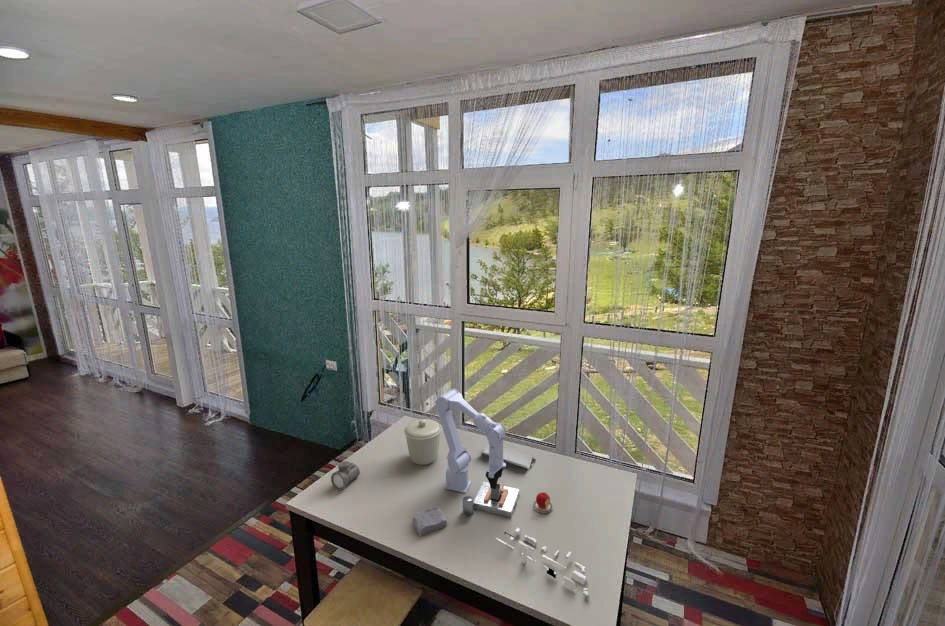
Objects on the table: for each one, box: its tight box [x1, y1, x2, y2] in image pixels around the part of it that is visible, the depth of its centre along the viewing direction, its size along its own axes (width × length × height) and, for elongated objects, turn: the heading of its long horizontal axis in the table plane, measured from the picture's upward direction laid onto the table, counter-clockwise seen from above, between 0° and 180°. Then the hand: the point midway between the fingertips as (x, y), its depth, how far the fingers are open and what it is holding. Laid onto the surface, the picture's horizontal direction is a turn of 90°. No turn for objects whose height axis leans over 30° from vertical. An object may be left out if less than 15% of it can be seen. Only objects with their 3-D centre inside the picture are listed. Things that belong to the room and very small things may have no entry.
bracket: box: [484, 482, 508, 506], centre depth 171 cm, size 8×12×1 cm, turn 161°
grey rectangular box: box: [491, 483, 501, 502], centre depth 169 cm, size 3×3×8 cm
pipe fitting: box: [330, 460, 361, 491], centre depth 183 cm, size 12×8×10 cm
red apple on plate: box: [532, 491, 554, 514], centre depth 167 cm, size 8×8×6 cm
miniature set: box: [495, 526, 590, 597], centre depth 142 cm, size 6×35×12 cm
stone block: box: [412, 507, 448, 536], centre depth 160 cm, size 12×5×10 cm
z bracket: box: [477, 441, 536, 470], centre depth 199 cm, size 12×25×6 cm
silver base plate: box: [474, 481, 520, 518], centre depth 171 cm, size 16×14×2 cm
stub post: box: [462, 495, 475, 517], centre depth 164 cm, size 4×4×6 cm
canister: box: [403, 418, 443, 466], centre depth 198 cm, size 18×18×21 cm
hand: (495, 482), depth 168 cm, fingers open, 7 cm apart
